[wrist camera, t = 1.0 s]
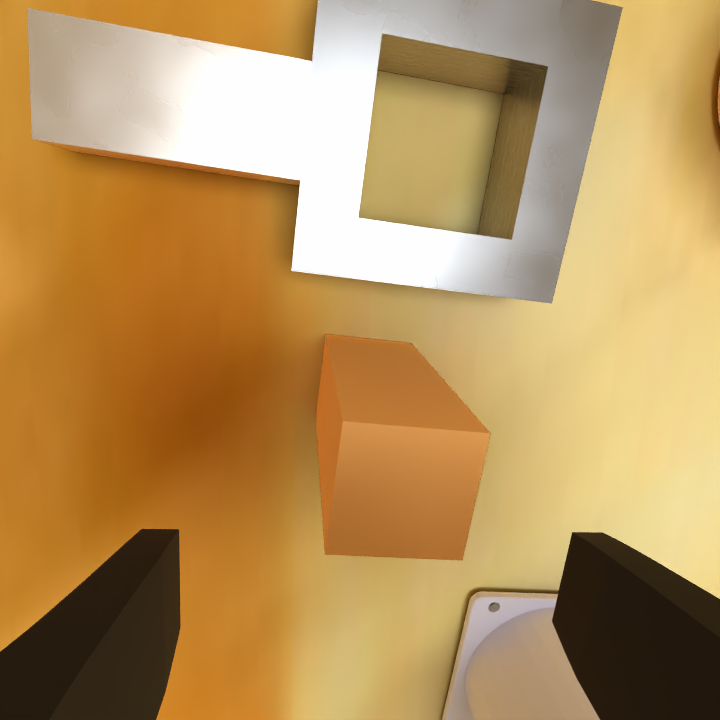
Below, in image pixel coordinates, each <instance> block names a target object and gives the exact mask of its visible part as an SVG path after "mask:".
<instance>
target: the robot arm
mask: <svg viewBox="0 0 720 720" xmlns="http://www.w3.org/2000/svg"><path fill="white" fill-rule="evenodd" d="M494 602H495V604H493V605H490V604H491V603H494ZM489 605H490V606H489ZM179 631H180V567H179V529H141V530H140V531H139V532H138V533H137V534H136V535H134V536H133V537H132V538H131V539H130V540H129V541H128V542H126V543H125V544H124V545H123V546H122V547H121V548H120V549H119V550H118V551H117V552H115V553H114V554H113V555H112V556H111V557H110V558H109V559H108V560H107V561H106V562H104V563H103V564H102V565H101V566H100V567H99V568H98V569H97V570H96V571H95V572H93V573H92V574H91V575H90V576H89V577H88V578H87V579H86V580H85V581H83V582H82V583H81V584H80V585H79V586H78V587H77V588H76V589H74V590H73V591H72V592H71V593H70V594H69V595H68V596H66V597H65V598H64V599H63V600H62V601H61V602H59V603H58V604H57V605H56V606H55V607H54V608H53V609H51V610H50V611H49V612H48V613H47V614H46V615H45V616H43V617H42V618H41V619H40V620H39V621H38V622H36V623H35V624H34V625H33V626H32V627H30V628H29V629H28V630H27V631H26V632H24V633H23V634H22V635H21V636H19V637H18V638H17V639H16V640H14V641H13V642H12V643H11V644H9V645H8V646H7V647H6V648H4V649H3V650H2V651H1V652H0V720H156V718H157V715H158V712H159V709H160V706H161V703H162V700H163V697H164V694H165V691H166V687H167V683H168V679H169V675H170V671H171V666H172V662H173V658H174V653H175V649H176V645H177V640H178V636H179ZM442 720H720V599H719V598H717V597H715V596H714V595H712V594H710V593H708V592H707V591H705V590H703V589H702V588H700V587H698V586H697V585H695V584H693V583H691V582H690V581H688V580H686V579H685V578H683V577H681V576H680V575H678V574H676V573H675V572H673V571H671V570H669V569H668V568H666V567H664V566H663V565H661V564H659V563H658V562H656V561H654V560H652V559H651V558H649V557H647V556H645V555H644V554H642V553H640V552H638V551H637V550H635V549H633V548H631V547H630V546H628V545H626V544H624V543H622V542H620V541H618V540H616V539H614V538H612V537H610V536H608V535H606V534H604V533H589V532H572V536H571V540H570V545H569V549H568V553H567V558H566V562H565V566H564V571H563V575H562V579H561V583H560V588H559V592H558V594H544V593H514V592H484V591H482V592H477V593H475V594H474V595H473V596H472V597H471V599H470V601H469V605H468V609H467V614H466V618H465V622H464V627H463V631H462V635H461V640H460V644H459V648H458V652H457V657H456V661H455V665H454V670H453V674H452V678H451V683H450V687H449V691H448V696H447V700H446V704H445V709H444V713H443V717H442Z"/></svg>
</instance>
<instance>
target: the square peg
mask: <svg viewBox="0 0 720 720" xmlns="http://www.w3.org/2000/svg"><path fill="white" fill-rule="evenodd" d="M316 425H317V440H318V456H319V472H320V487H321V503H322V518H323V534H324V550H325V554H326V555H350V556H373V557H396V558H419V559H442V560H463V556H464V551H465V547H466V542H467V538H468V533H469V529H470V524H471V520H472V515H473V511H474V506H475V502H476V497H477V493H478V488H479V484H480V479H481V475H482V470H483V466H484V461H485V457H486V452H487V448H488V443H489V439H490V434H491V433H490V432H489V431H488V430H487V429H486V428H485V426H484V425H483V424H482V423H481V422H480V421H479V420H478V418H477V417H476V416H475V415H474V414H473V413H472V412H471V410H470V409H469V408H468V407H467V406H466V405H465V404H464V402H463V401H462V400H461V399H460V398H459V397H458V396H457V394H456V393H455V392H454V391H453V390H452V389H451V388H450V387H449V385H448V384H447V383H446V382H445V381H444V380H443V379H442V377H441V376H440V375H439V374H438V373H437V372H436V371H435V369H434V368H433V367H432V366H431V365H430V364H429V363H428V361H427V360H426V359H425V358H424V357H423V356H422V355H421V353H420V352H419V351H418V350H417V349H416V348H415V347H414V345H413V344H412V343H404V342H395V341H386V340H376V339H367V338H358V337H349V336H339V335H330V334H326V336H325V345H324V353H323V361H322V370H321V378H320V386H319V395H318V403H317V411H316Z"/></svg>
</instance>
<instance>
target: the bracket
mask: <svg viewBox="0 0 720 720" xmlns="http://www.w3.org/2000/svg"><path fill="white" fill-rule="evenodd" d="M622 8H623V7H619V6H615V5H610V4H606V3H601V2H597V1H592V0H318V5H317V16H316V26H315V36H314V46H313V57H312V61H307V60H302V59H297V58H291V57H286V56H281V55H275V54H270V53H265V52H259V51H254V50H249V49H243V48H238V47H233V46H227V45H222V44H217V43H211V42H206V41H201V40H195V39H190V38H185V37H179V36H174V35H169V34H163V33H158V32H153V31H147V30H142V29H137V28H131V27H126V26H121V25H115V24H110V23H105V22H99V21H94V20H89V19H83V18H78V17H73V16H67V15H62V14H57V13H51V12H46V11H41V10H35V9H30V8H27V10H28V37H29V65H30V93H31V120H32V139H33V140H37V141H40V142H43V143H47V144H50V145H53V146H57V147H60V148H63V149H67V150H70V151H73V152H79V153H85V154H92V155H99V156H105V157H112V158H118V159H125V160H132V161H138V162H145V163H152V164H158V165H165V166H172V167H178V168H185V169H192V170H198V171H205V172H212V173H218V174H225V175H231V176H238V177H245V178H251V179H258V180H265V181H271V182H278V183H285V184H291V185H298V186H300V189H299V200H298V210H297V220H296V230H295V240H294V251H293V261H292V271H297V272H305V273H313V274H321V275H329V276H337V277H345V278H353V279H361V280H369V281H377V282H385V283H393V284H401V285H409V286H417V287H425V288H433V289H441V290H448V291H456V292H464V293H472V294H480V295H488V296H496V297H504V298H512V299H520V300H528V301H536V302H544V303H552V300H553V296H554V292H555V288H556V284H557V280H558V275H559V271H560V267H561V263H562V259H563V254H564V250H565V246H566V242H567V238H568V234H569V229H570V225H571V221H572V217H573V213H574V208H575V204H576V200H577V196H578V192H579V188H580V183H581V179H582V175H583V171H584V167H585V162H586V158H587V154H588V150H589V146H590V142H591V137H592V133H593V129H594V125H595V121H596V116H597V112H598V108H599V104H600V100H601V96H602V91H603V87H604V83H605V79H606V75H607V70H608V66H609V62H610V58H611V54H612V50H613V45H614V41H615V37H616V33H617V29H618V24H619V20H620V16H621V12H622ZM377 70H382V71H387V72H392V73H397V74H403V75H408V76H413V77H419V78H424V79H429V80H434V81H440V82H445V83H450V84H456V85H461V86H466V87H472V88H477V89H482V90H487V91H493V92H498V93H503V94H505V95H504V100H503V105H502V110H501V115H500V121H499V126H498V131H497V136H496V141H495V147H494V152H493V157H492V162H491V167H490V173H489V178H488V183H487V188H486V193H485V199H484V204H483V209H482V214H481V219H480V225H479V230H478V235H475V234H468V233H461V232H454V231H447V230H440V229H433V228H426V227H419V226H412V225H405V224H398V223H391V222H384V221H377V220H370V219H363V218H358V215H359V208H360V200H361V192H362V184H363V177H364V169H365V161H366V153H367V146H368V138H369V130H370V123H371V115H372V107H373V99H374V92H375V84H376V76H377Z"/></svg>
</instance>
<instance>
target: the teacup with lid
mask: <svg viewBox="0 0 720 720" xmlns="http://www.w3.org/2000/svg"><path fill="white" fill-rule="evenodd" d="M718 117H719V124H720V78H719V86H718Z"/></svg>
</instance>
